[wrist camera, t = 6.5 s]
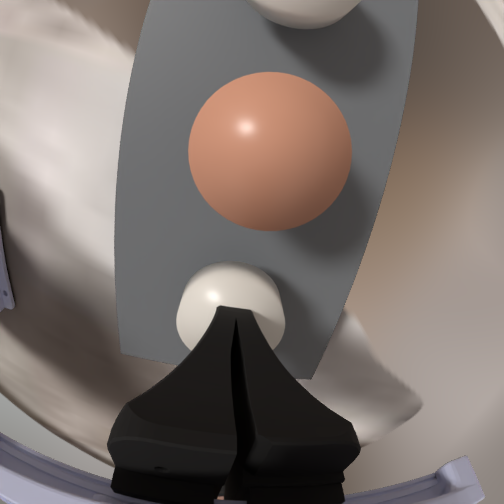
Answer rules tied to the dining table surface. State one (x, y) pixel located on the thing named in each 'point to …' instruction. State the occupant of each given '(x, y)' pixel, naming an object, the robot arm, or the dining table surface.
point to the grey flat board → (196, 207)
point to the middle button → (270, 151)
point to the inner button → (229, 300)
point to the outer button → (303, 11)
